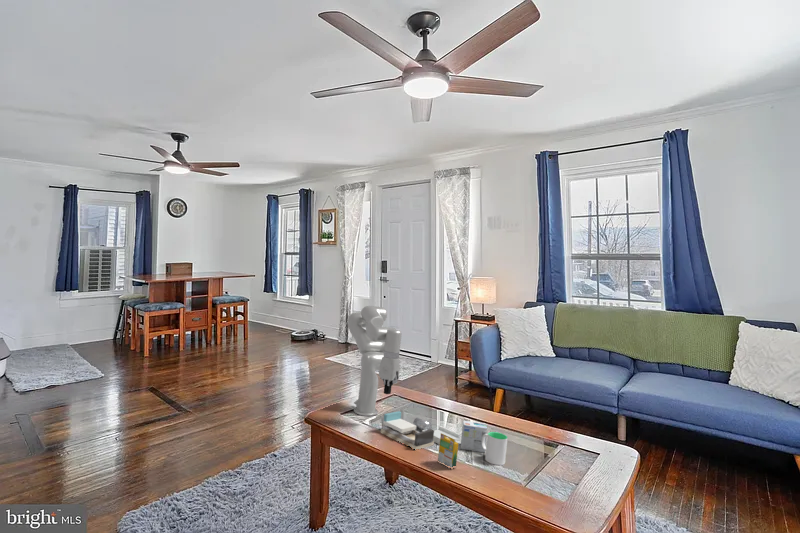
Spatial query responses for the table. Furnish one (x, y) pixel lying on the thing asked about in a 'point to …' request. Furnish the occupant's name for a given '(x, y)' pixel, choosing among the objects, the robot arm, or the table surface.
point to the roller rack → (446, 432)
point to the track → (411, 437)
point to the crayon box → (448, 451)
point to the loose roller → (422, 424)
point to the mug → (495, 447)
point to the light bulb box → (473, 436)
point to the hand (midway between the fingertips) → (387, 393)
